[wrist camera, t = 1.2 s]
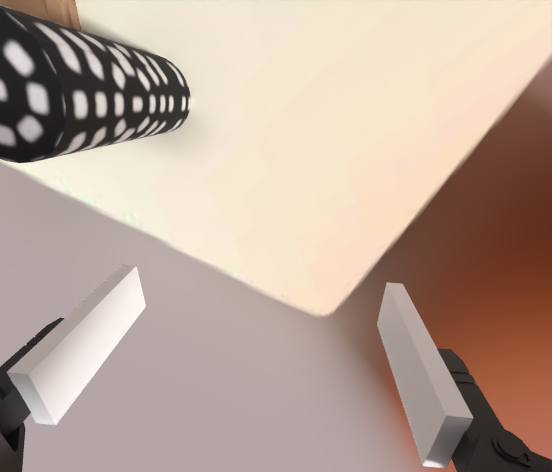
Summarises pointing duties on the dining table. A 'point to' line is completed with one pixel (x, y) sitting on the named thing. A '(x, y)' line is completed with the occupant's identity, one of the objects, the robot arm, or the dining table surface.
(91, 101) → the white-spotted black cylinder
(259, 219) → the dining table surface
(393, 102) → the dining table surface
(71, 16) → the wooden tray
